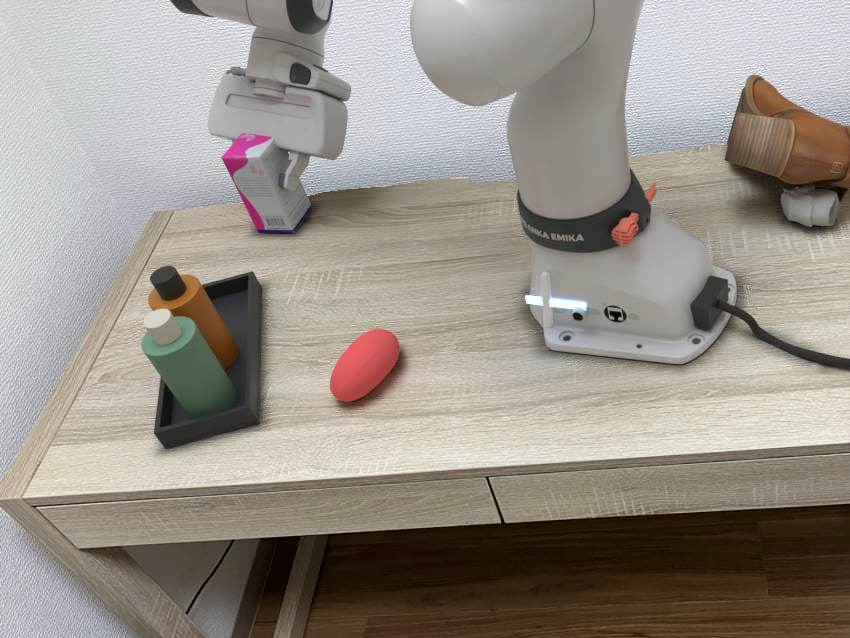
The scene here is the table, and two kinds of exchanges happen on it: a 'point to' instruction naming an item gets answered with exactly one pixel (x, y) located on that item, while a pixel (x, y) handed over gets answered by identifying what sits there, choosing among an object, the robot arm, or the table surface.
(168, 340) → the sage bottle
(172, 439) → the tray
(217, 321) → the amber bottle
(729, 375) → the table surface
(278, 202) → the supplement box
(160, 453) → the table surface
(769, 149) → the boot
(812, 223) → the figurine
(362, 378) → the stress ball
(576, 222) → the robot arm
